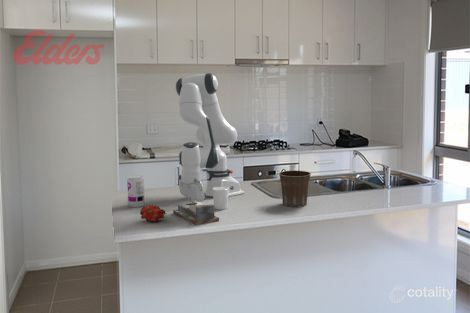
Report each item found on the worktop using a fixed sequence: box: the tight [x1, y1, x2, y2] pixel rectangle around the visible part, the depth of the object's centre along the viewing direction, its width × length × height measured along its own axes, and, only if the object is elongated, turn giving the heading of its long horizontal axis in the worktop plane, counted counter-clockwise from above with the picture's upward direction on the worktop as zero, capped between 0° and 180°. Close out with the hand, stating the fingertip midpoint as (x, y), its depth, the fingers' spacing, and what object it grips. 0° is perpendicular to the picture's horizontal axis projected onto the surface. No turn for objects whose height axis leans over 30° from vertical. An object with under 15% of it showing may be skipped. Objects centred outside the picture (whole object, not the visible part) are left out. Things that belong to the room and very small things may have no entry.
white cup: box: [213, 187, 230, 211], centre depth 233 cm, size 8×8×10 cm
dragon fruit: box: [139, 204, 167, 223], centre depth 211 cm, size 8×8×12 cm
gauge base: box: [172, 203, 220, 226], centre depth 218 cm, size 12×24×8 cm, turn 30°
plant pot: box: [278, 169, 312, 207], centre depth 238 cm, size 16×16×16 cm
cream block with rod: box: [185, 201, 206, 213], centre depth 215 cm, size 8×6×6 cm
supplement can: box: [126, 175, 146, 208], centre depth 240 cm, size 8×8×15 cm
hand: (192, 207), depth 220 cm, fingers closed
